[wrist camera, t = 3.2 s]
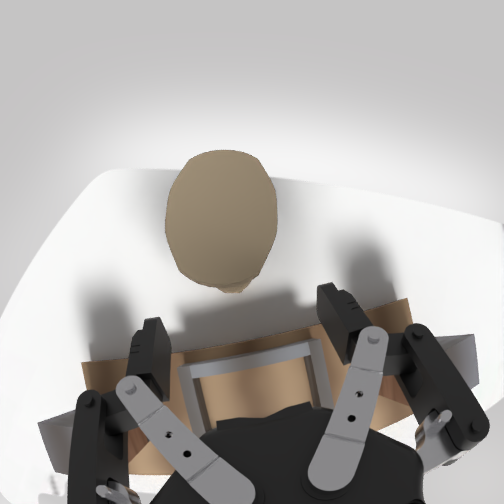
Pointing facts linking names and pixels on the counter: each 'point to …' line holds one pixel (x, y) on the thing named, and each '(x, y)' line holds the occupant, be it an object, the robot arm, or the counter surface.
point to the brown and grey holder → (254, 384)
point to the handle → (221, 219)
